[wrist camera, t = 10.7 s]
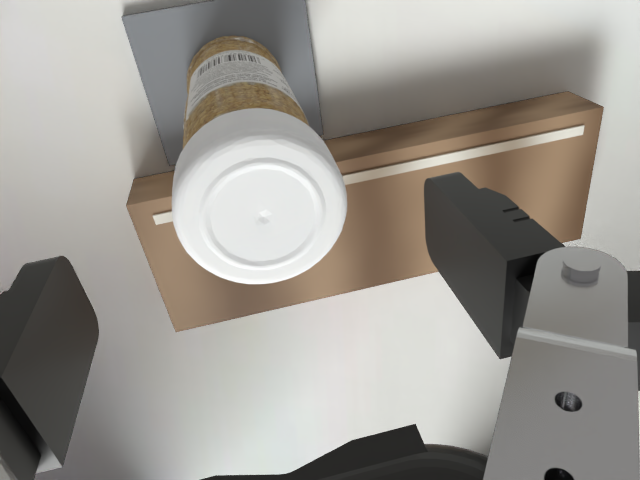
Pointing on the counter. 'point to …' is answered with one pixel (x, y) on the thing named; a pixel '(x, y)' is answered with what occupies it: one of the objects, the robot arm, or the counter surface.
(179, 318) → the walnut board
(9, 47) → the counter surface
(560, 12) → the counter surface
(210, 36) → the grey pad
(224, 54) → the sprinkles bottle
